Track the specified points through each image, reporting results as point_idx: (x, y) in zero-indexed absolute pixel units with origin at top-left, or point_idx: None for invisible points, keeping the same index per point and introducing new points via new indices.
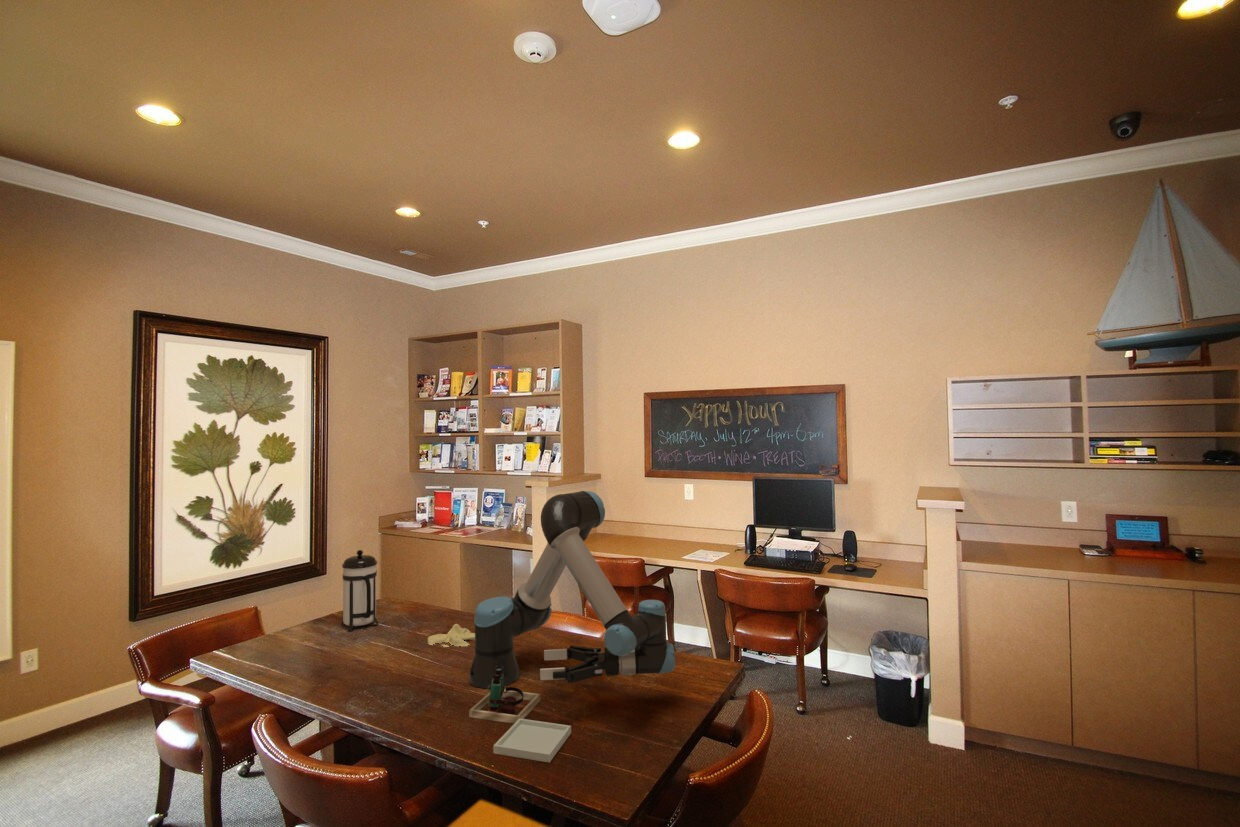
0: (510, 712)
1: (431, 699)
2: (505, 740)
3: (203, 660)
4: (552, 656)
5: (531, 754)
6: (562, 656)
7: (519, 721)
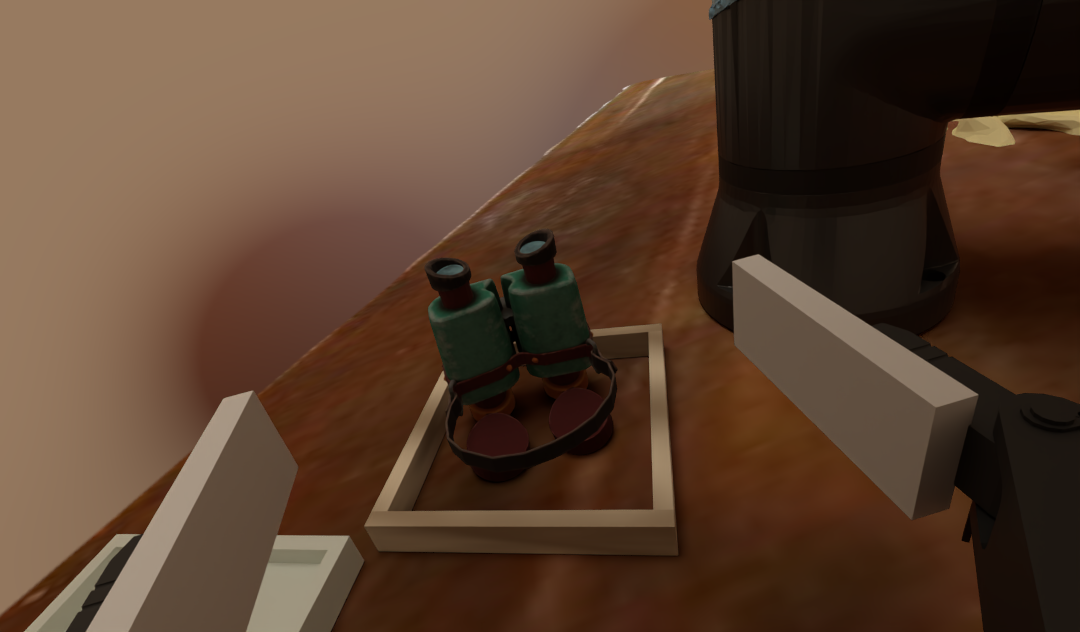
0: (473, 467)
1: (576, 254)
2: None
3: (634, 84)
4: (782, 358)
5: None
6: (868, 440)
7: (315, 550)
